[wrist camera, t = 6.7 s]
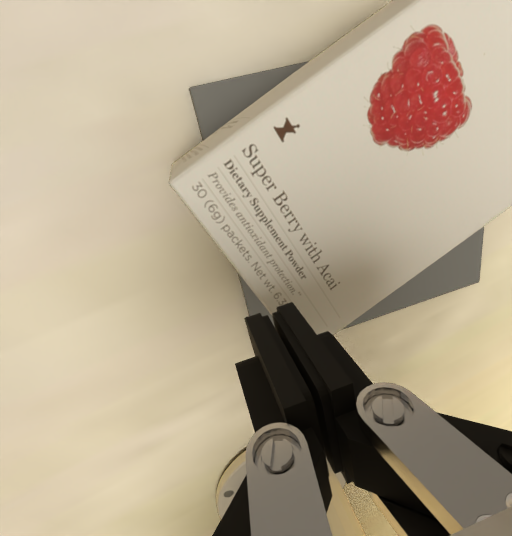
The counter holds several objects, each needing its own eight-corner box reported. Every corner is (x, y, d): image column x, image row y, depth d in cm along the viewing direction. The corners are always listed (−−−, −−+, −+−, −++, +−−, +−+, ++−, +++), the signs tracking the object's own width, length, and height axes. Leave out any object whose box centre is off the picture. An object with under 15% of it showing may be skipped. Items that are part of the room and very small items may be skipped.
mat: (473, 279, 27) (479, 281, 27) (259, 352, 25) (261, 357, 24) (492, 22, 20) (501, 19, 19) (189, 88, 17) (189, 87, 17)
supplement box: (159, 179, 10) (572, -131, 9) (166, 165, 18) (387, -1, 18) (308, 365, 13) (608, 145, 13) (257, 283, 22) (441, 146, 21)
